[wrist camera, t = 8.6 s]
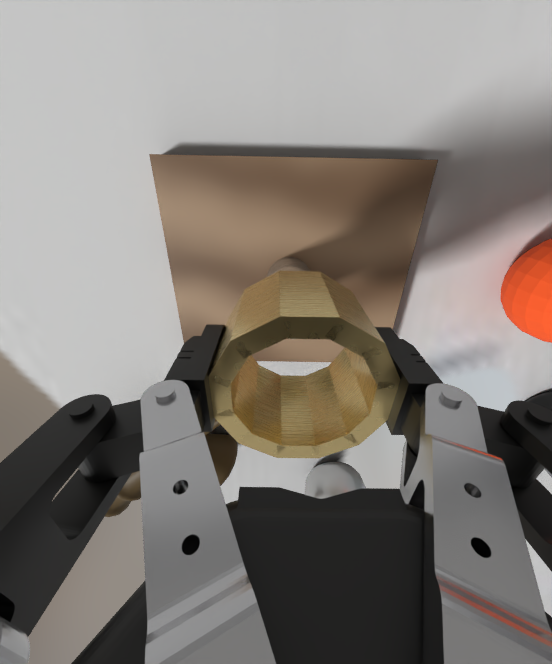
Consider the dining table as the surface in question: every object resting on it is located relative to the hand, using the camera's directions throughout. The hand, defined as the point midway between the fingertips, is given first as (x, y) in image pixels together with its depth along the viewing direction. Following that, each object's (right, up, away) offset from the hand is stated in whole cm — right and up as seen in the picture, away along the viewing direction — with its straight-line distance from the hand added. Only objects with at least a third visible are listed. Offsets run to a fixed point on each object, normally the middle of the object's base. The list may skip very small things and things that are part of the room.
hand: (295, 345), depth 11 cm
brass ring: (0, 0, +1) cm, 1 cm away
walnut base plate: (0, +5, +8) cm, 10 cm away
